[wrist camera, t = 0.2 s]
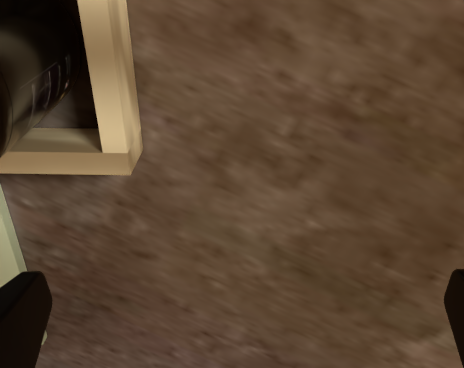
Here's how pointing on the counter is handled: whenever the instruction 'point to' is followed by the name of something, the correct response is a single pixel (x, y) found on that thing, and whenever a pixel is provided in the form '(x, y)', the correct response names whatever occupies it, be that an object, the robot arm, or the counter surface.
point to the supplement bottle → (34, 64)
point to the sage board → (9, 248)
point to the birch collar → (106, 104)
